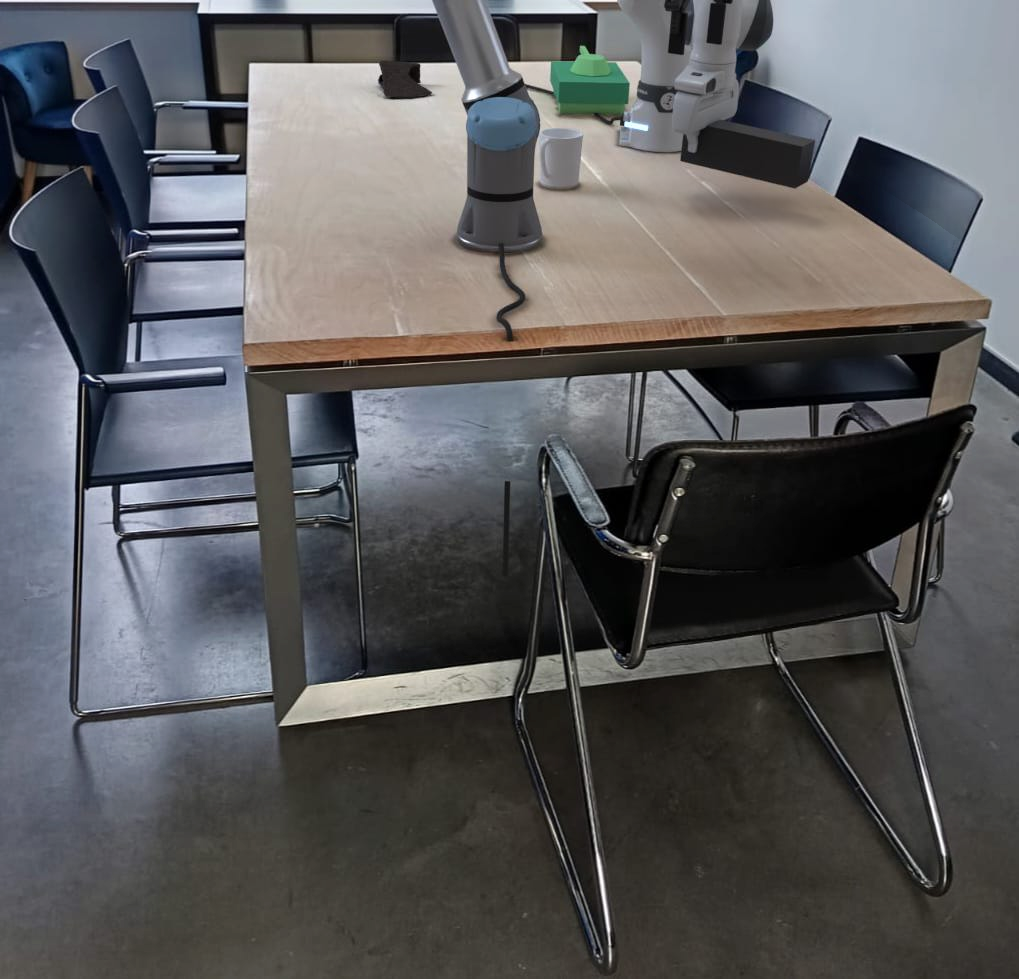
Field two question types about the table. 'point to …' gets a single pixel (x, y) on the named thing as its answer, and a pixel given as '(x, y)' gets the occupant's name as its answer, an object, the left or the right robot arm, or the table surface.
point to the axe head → (401, 79)
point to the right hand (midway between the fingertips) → (701, 147)
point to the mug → (560, 157)
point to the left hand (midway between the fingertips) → (695, 48)
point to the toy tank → (589, 85)
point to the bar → (752, 153)
